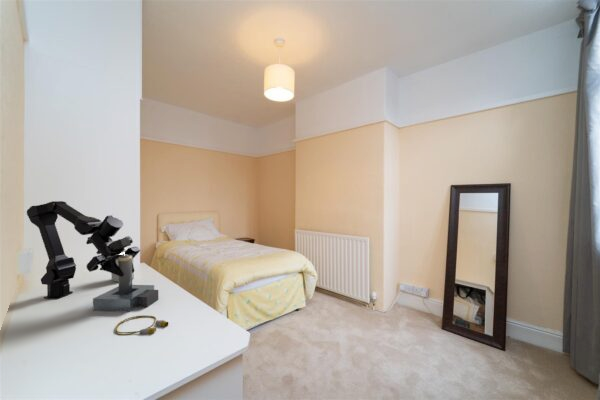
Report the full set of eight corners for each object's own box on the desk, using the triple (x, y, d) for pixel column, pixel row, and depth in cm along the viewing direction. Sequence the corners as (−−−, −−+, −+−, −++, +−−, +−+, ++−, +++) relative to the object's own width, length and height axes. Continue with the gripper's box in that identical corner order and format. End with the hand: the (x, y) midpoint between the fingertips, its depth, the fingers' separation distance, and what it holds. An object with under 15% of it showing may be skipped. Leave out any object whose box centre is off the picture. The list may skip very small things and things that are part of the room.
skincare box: (134, 278, 124) (134, 248, 124) (120, 283, 118) (119, 251, 118) (124, 276, 128) (124, 246, 127) (110, 280, 122) (109, 249, 121)
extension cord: (126, 346, 70) (126, 339, 70) (109, 327, 80) (109, 321, 80) (170, 328, 80) (170, 322, 80) (150, 313, 89) (150, 308, 89)
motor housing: (93, 310, 90) (92, 298, 90) (122, 295, 104) (122, 284, 104) (140, 311, 90) (140, 299, 89) (163, 295, 104) (163, 285, 103)
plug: (117, 294, 94) (116, 258, 93) (119, 290, 98) (119, 255, 98) (131, 292, 96) (131, 256, 96) (133, 288, 100) (133, 254, 100)
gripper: (92, 234, 88) (118, 267, 86) (136, 227, 106) (158, 254, 104) (75, 255, 90) (100, 287, 88) (121, 244, 108) (143, 271, 106)
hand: (128, 273), depth 96 cm, fingers closed on plug, 4 cm apart
